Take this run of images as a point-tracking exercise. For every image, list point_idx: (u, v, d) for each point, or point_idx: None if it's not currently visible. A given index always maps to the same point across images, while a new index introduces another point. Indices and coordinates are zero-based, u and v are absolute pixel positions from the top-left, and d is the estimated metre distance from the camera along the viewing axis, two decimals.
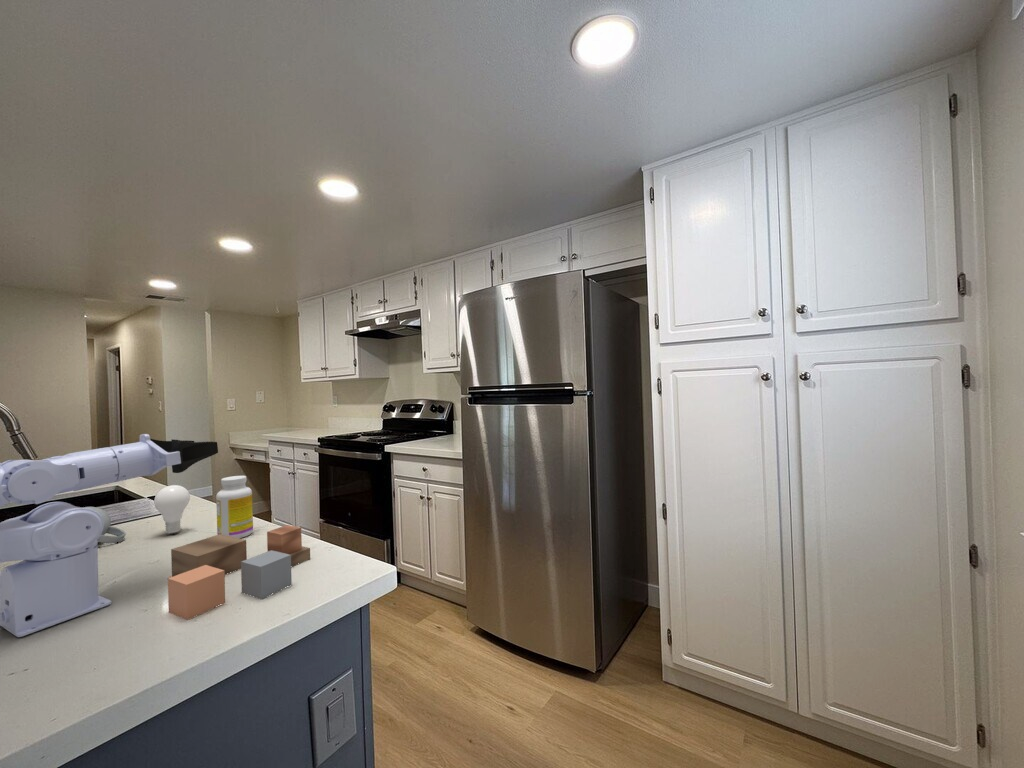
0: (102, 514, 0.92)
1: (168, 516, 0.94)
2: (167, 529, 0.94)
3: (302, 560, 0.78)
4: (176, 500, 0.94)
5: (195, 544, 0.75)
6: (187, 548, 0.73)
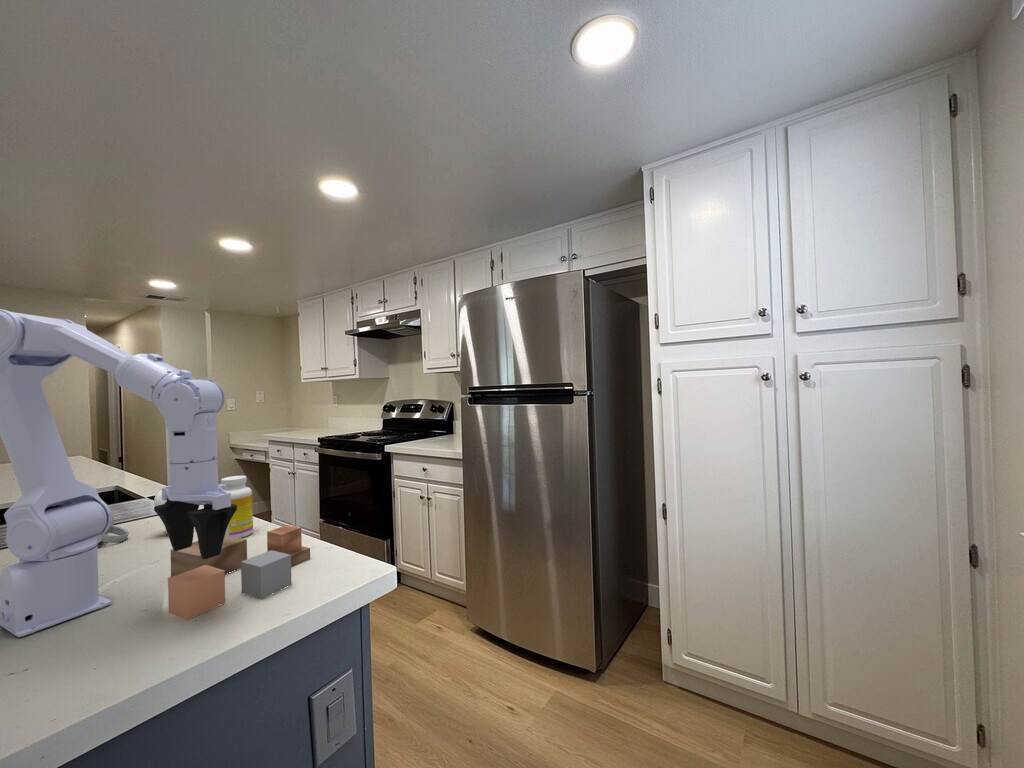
0: None
1: None
2: None
3: (302, 560, 0.78)
4: None
5: (194, 544, 0.75)
6: (187, 548, 0.73)
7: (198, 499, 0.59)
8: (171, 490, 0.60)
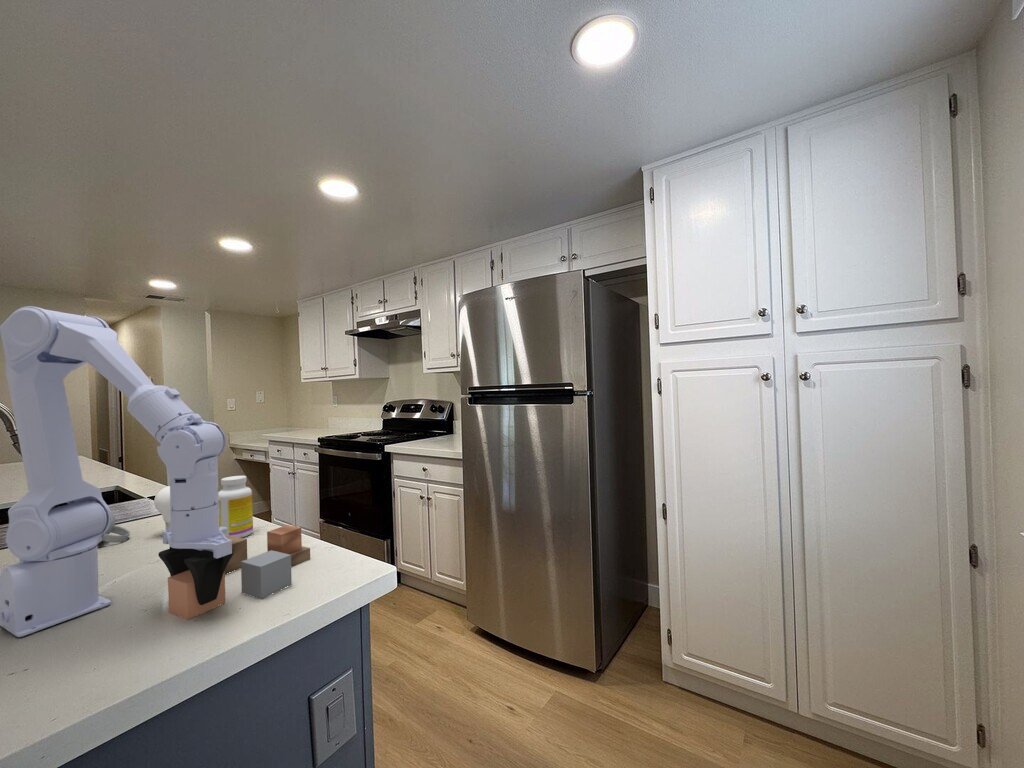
0: None
1: (169, 516, 0.94)
2: (167, 529, 0.94)
3: (302, 560, 0.78)
4: None
5: None
6: None
7: (199, 547, 0.59)
8: (172, 537, 0.60)
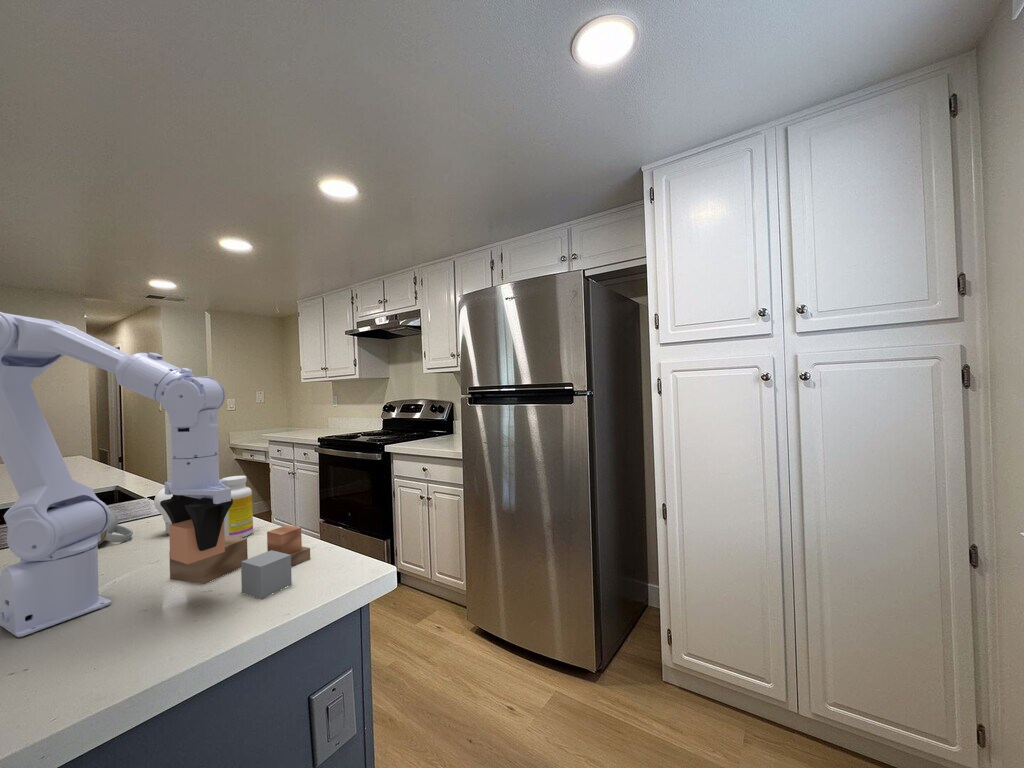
0: None
1: None
2: (167, 529, 0.94)
3: (302, 560, 0.78)
4: None
5: None
6: None
7: (199, 493, 0.61)
8: (173, 484, 0.62)
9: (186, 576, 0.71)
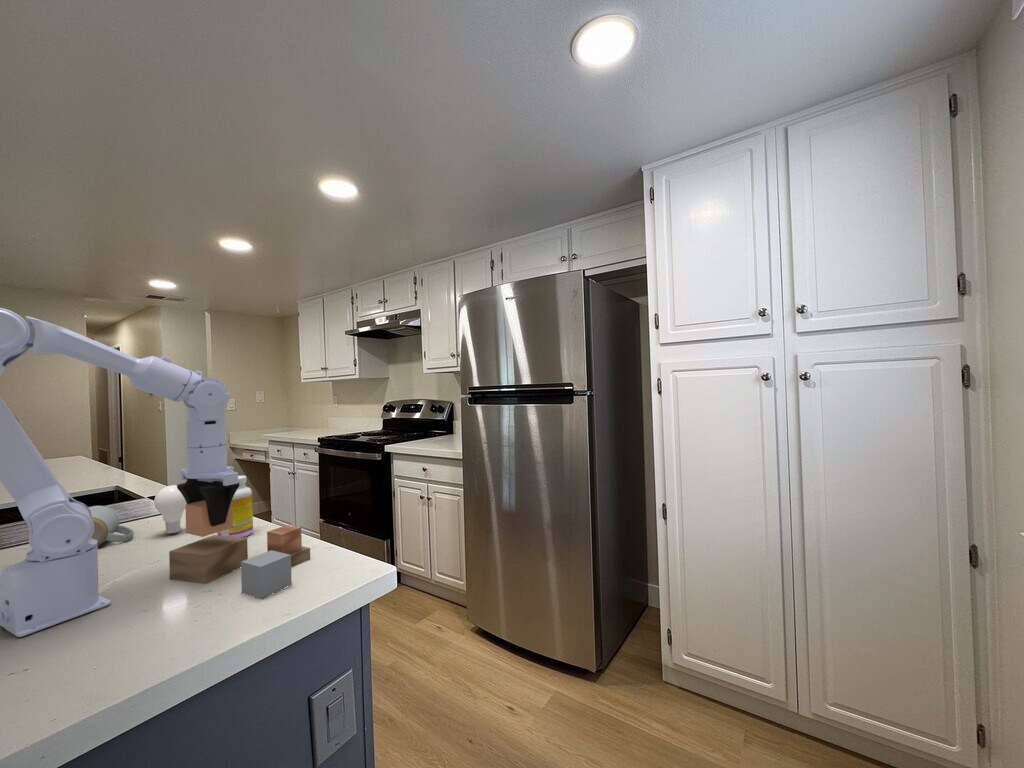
0: (111, 513, 0.92)
1: (169, 516, 0.94)
2: (167, 529, 0.94)
3: (302, 560, 0.78)
4: (176, 500, 0.94)
5: (193, 545, 0.74)
6: (187, 549, 0.73)
7: (211, 477, 0.71)
8: (189, 470, 0.72)
9: (186, 576, 0.71)
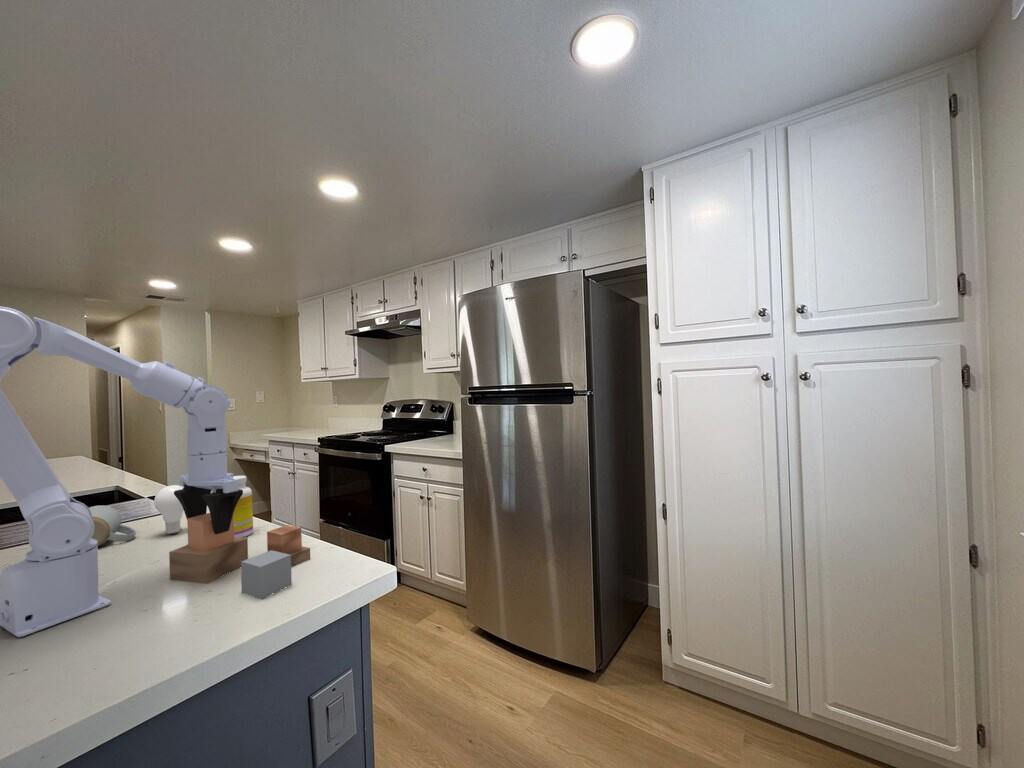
0: (113, 513, 0.92)
1: (169, 516, 0.94)
2: (167, 529, 0.94)
3: (302, 560, 0.78)
4: (176, 500, 0.94)
5: None
6: (187, 549, 0.73)
7: (211, 484, 0.71)
8: (189, 477, 0.72)
9: (187, 577, 0.71)
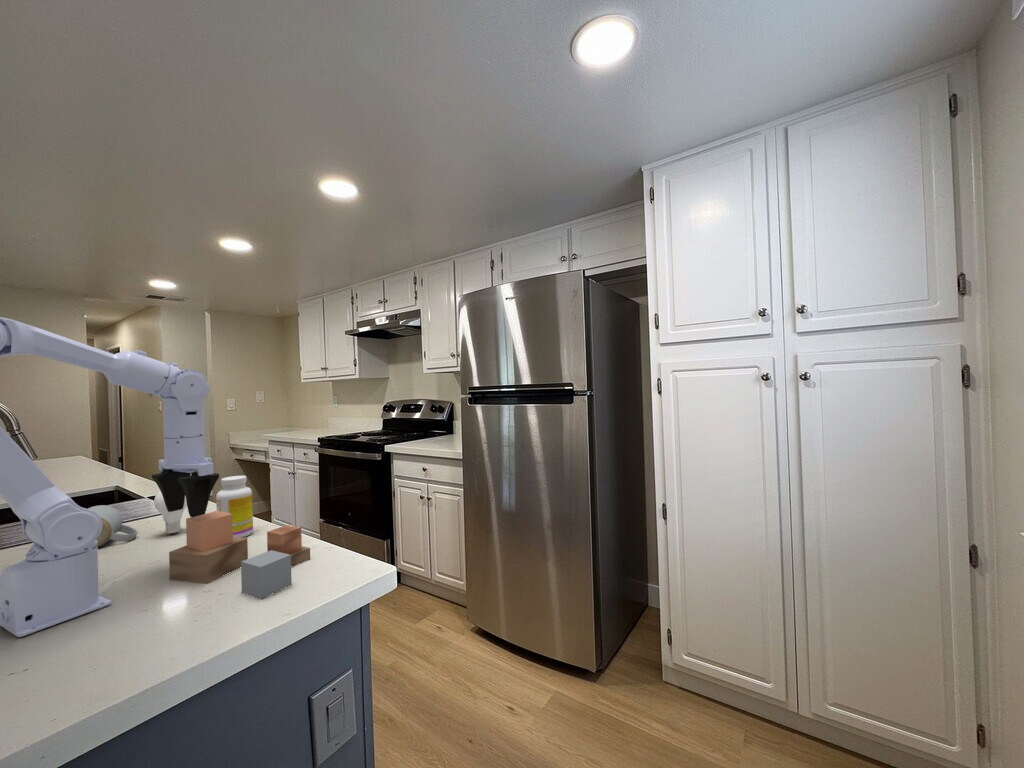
0: (114, 512, 0.93)
1: (168, 516, 0.94)
2: (167, 529, 0.94)
3: (302, 560, 0.78)
4: None
5: None
6: (187, 549, 0.73)
7: (186, 467, 0.72)
8: (165, 460, 0.73)
9: (187, 577, 0.71)
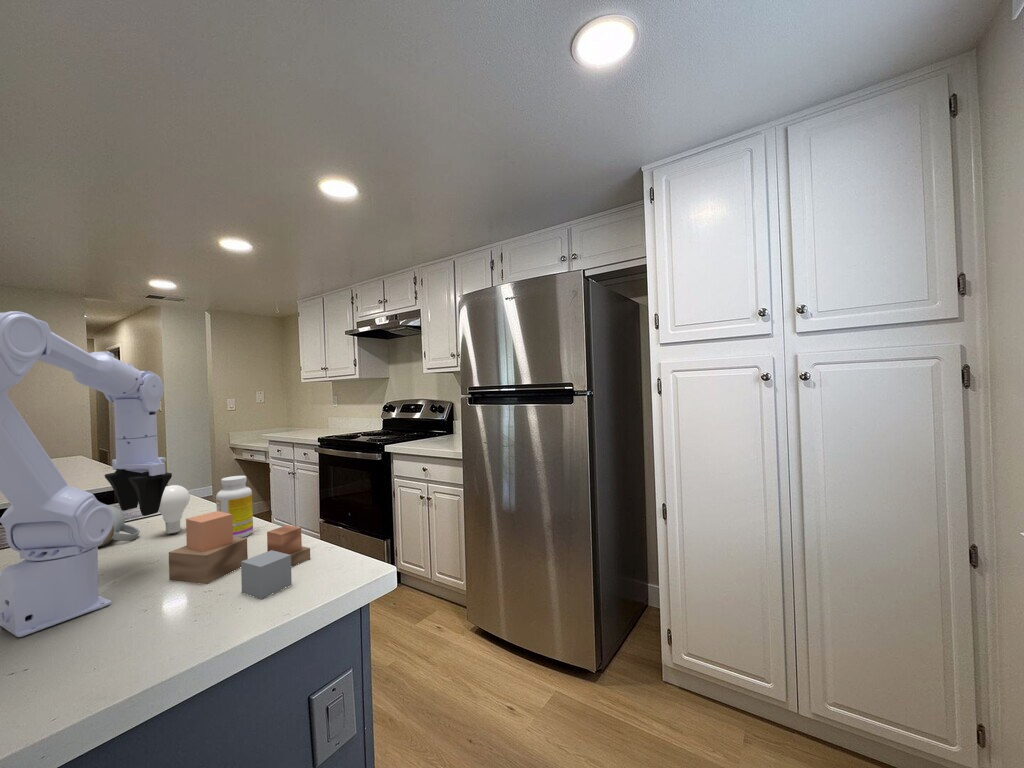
0: (116, 512, 0.93)
1: (168, 516, 0.94)
2: (167, 529, 0.94)
3: (302, 560, 0.78)
4: (176, 500, 0.94)
5: None
6: (187, 549, 0.73)
7: (138, 467, 0.73)
8: (116, 460, 0.74)
9: (187, 577, 0.71)
